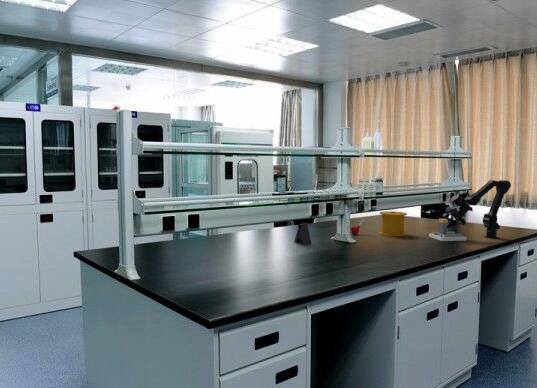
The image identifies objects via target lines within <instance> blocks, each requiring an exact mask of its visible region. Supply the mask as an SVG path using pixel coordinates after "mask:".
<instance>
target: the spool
mask: <svg viewBox="0 0 537 388" xmlns="http://www.w3.org/2000/svg"><path fill="white" fill-rule="evenodd" d="M407 213H408V212H404V211H392V210H391V211H385V210H384V211H380V212H379V214H380V215H381V230H380V231H379V232H378V234H379V235H382V236H388V237H405V236H407V233H406V232H405V216H407V215H408V214H407Z"/></svg>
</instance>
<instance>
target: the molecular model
mask: <svg viewBox="0 0 537 388" xmlns="http://www.w3.org/2000/svg"><path fill="white" fill-rule="evenodd" d="M366 224H367V221H366V220H365V219H362V220H360V223H359V224H358V225H357V226H353V225H352V224H351V223H350V227H349V229H350V233H351V234H352V235H357V234H359V231H360V228H361V227H362V226H365V225H366Z"/></svg>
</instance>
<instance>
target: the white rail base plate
mask: <svg viewBox="0 0 537 388" xmlns="http://www.w3.org/2000/svg"><path fill="white" fill-rule="evenodd" d="M437 233H439V231H432V233H429V234H428V237H429V238H433V239H435V240H437V241H441V242H457V241H459V242H462V241H463V242H464V241H467V240H468V239H467V237H466V236H463V234H462V233H456V231H447V234H440V235H438V234H437Z"/></svg>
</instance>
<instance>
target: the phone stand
mask: <svg viewBox="0 0 537 388" xmlns="http://www.w3.org/2000/svg"><path fill="white" fill-rule="evenodd" d="M293 242H294V243H295V242H296V244H300V243H301V245H309V244H312V238H311V235H310V231H309V224H308V223H307V222H303V223H298V224H297V231H296V234H295V237H294V241H293ZM308 243H309V244H308Z"/></svg>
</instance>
